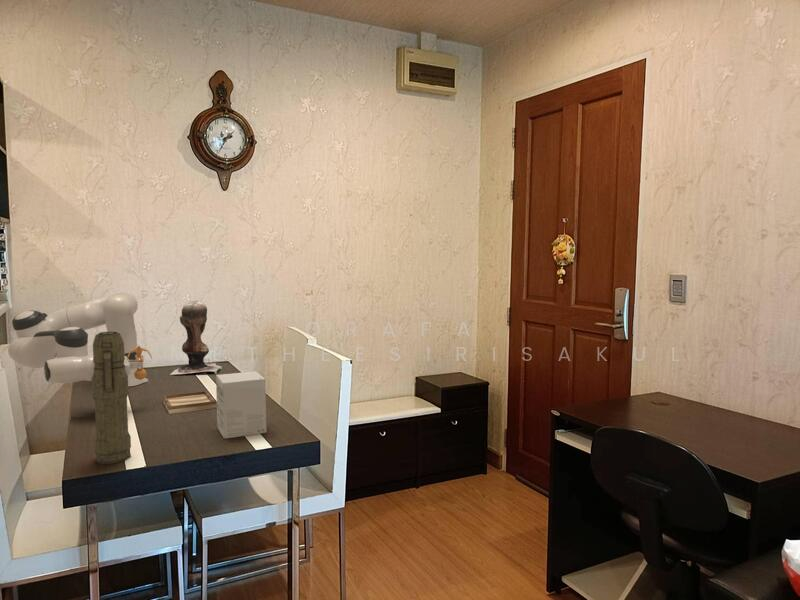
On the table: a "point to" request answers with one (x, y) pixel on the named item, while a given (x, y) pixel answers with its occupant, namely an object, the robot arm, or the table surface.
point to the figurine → (141, 372)
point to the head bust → (195, 339)
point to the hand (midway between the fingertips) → (142, 363)
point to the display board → (188, 402)
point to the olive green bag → (110, 399)
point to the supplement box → (241, 404)
